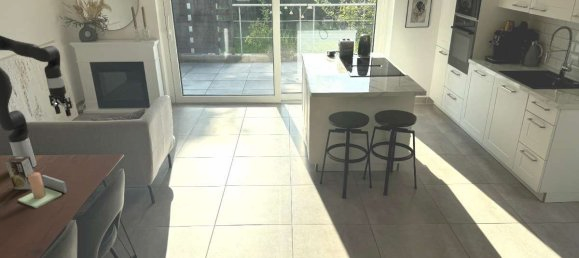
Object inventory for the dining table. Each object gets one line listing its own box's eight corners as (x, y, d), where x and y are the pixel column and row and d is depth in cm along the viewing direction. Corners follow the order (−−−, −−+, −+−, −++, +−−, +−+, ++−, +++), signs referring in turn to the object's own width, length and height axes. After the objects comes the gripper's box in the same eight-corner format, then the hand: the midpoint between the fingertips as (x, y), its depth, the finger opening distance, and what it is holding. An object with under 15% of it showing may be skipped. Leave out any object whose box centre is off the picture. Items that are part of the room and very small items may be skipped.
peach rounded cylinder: (31, 197, 192) (25, 176, 188) (41, 192, 197) (35, 171, 192) (38, 199, 190) (31, 178, 186) (48, 194, 195) (42, 173, 190)
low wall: (44, 185, 205) (41, 175, 202) (46, 184, 206) (43, 174, 203) (65, 193, 198) (62, 182, 195) (67, 191, 199) (64, 181, 196)
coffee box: (38, 183, 207) (30, 156, 201) (30, 189, 201) (21, 162, 195) (22, 182, 208) (14, 155, 202) (13, 189, 202) (4, 161, 196)
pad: (18, 201, 191) (18, 199, 191) (44, 188, 202) (43, 187, 202) (36, 208, 185) (35, 206, 185) (61, 194, 196) (61, 193, 196)
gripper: (40, 85, 202) (48, 115, 208) (58, 89, 196) (65, 119, 202) (54, 82, 208) (61, 110, 214) (71, 85, 202) (78, 114, 208)
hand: (63, 114), depth 208 cm, fingers open, 8 cm apart
